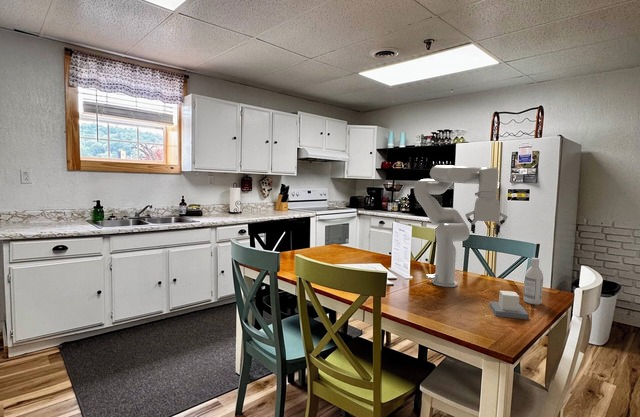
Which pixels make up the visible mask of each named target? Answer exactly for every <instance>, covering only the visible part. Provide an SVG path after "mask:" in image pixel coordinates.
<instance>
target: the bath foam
mask: <svg viewBox="0 0 640 417" xmlns="http://www.w3.org/2000/svg"><path fill="white" fill-rule="evenodd" d="M530 263H531V264H530V265H531V266H530V267H529V268H528V269H527V270H526V272H525V274H524V286H523V302H525V303H527V304H530V305H541V304H542V300H543V299H542V297H543V287H544V286H543V284H544V273H543V271H542V270H541V268H540V258H538V257H532V258H531V262H530Z"/></svg>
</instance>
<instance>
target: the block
mask: <svg viewBox="0 0 640 417" xmlns="http://www.w3.org/2000/svg"><path fill="white" fill-rule="evenodd" d="M498 295H499V296H498V302H499V305H500V307H501V308H502V309H505V310H515V311H518V308H519V304H520V295H519V294H518V293H517V292H516V291H510V290H499V293H498Z"/></svg>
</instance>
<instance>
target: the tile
mask: <svg viewBox="0 0 640 417" xmlns="http://www.w3.org/2000/svg"><path fill="white" fill-rule="evenodd" d="M488 306H489V308H490V309H491V311H492V313H493V314H494V316H495V317H501V318H503V317H504V318H512V319H520V320H521V319H522V320H529V319H530V314H529V313H528V312H527V311H526V310H525V308H524V307H523V306H522V305H521V304H520V303H519V308H518V311H515V310H505V309H502V308H501V307H500V305H499V301H489V302H488Z"/></svg>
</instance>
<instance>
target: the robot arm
mask: <svg viewBox="0 0 640 417" xmlns="http://www.w3.org/2000/svg"><path fill="white" fill-rule="evenodd" d="M429 176H430V178H423V179H420V180H419V179H418V180H417V181H416V182H415V183H414V187H413V193H414V197H415V199H416V201H417V202H418V203H419V205H420V206H421V207H422V209H423V210H424V212H425V214H426V216H427V217H428V219H429V221H430V222H431V224H432V225H434V226H437V227H436V228H435V234H434V235H435V240H436V256H435V258H436V259H435V272H434V273H433V274H429V273H428V274H425V278H426V279H429V280H431V283H432V284H433V285H436V286H439V287H444V288H454V287H457V286H458V282H457V281H456V280H455V276H456V261H457V260H456V258H457V250H456V247H455V244H454V242H464V241H466V240H468V239H469V237H470V233H471V232H472V233H473V234H476V223H477V222H492V223H493V222H494V223H495V224H496V225H494V226H495V230H494V234H495V235H497V236H498V235H499V233H500V232H501V226H502V225H503V224H504V223H505V222H506V220H507V219H508V215H507V214H504V213H502V212H500V200H499V198H497V197H498V182H499V169H498V168H496V167H474V166H473V167H472V166H457V165H447V164H446V165H445V164H443V165H441V164H440V165H434V166H433V167H432V168H431V169H430V172H429ZM455 183H456V184H463V185H464V184H467V185H469V184H472V185H473V184H474V185H476V184H478V191H477V192H475V193H474V196H475V197H476V196H477V197H476V199H475V203H474V208H473V210H471V211H469V212H468V213H465V218H466V219H467V221H468V222H469V223H470V224H471V225H470V228H469V227H468V224H467V223H466V221H465V219H463V217H462V215H461V214H460V212H459V211H458V210H456V209H455V208H453V207H442V205H440V203H439V201H438V200H437V199H436V198H435V197H434V196H432V195H441V194H444V193H445V192H446V191H447V190H448V189H449V188H450V187H451V186H452V185H453V184H455ZM472 215H473V219H472V218H471V217H470V216H472ZM500 216H501V217H502V219H501V220H500Z"/></svg>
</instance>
